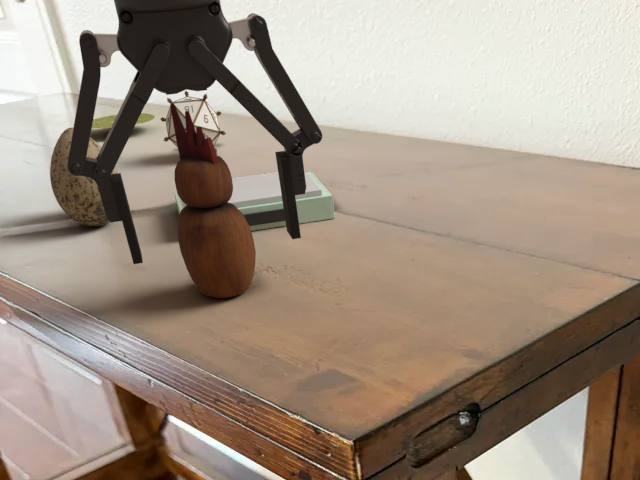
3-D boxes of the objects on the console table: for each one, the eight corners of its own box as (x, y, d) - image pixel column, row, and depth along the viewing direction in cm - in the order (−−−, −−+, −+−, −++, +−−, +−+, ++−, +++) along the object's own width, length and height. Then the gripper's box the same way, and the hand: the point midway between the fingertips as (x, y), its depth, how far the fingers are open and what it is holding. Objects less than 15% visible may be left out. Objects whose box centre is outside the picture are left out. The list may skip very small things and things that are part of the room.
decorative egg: (56, 225, 92) (26, 129, 86) (117, 211, 95) (91, 117, 89) (77, 240, 87) (46, 139, 81) (140, 224, 90) (115, 126, 84)
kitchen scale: (187, 241, 85) (180, 211, 83) (178, 212, 93) (172, 185, 92) (335, 219, 88) (332, 190, 86) (314, 193, 97) (310, 166, 95)
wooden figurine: (180, 289, 74) (137, 105, 65) (237, 273, 76) (204, 94, 67) (211, 311, 69) (170, 116, 60) (271, 293, 72) (240, 104, 63)
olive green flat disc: (72, 136, 131) (68, 123, 130) (131, 122, 137) (128, 110, 136) (111, 144, 125) (107, 130, 123) (171, 129, 131) (168, 115, 130)
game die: (196, 188, 115) (144, 136, 107) (190, 153, 120) (139, 100, 112) (245, 151, 113) (195, 94, 105) (237, 116, 117) (188, 59, 109)
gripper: (-38, -41, 52) (67, 284, 65) (339, -72, 57) (366, 236, 70) (-25, -44, 58) (69, 255, 71) (316, -72, 63) (345, 213, 76)
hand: (217, 246), depth 70 cm, fingers open, 13 cm apart
